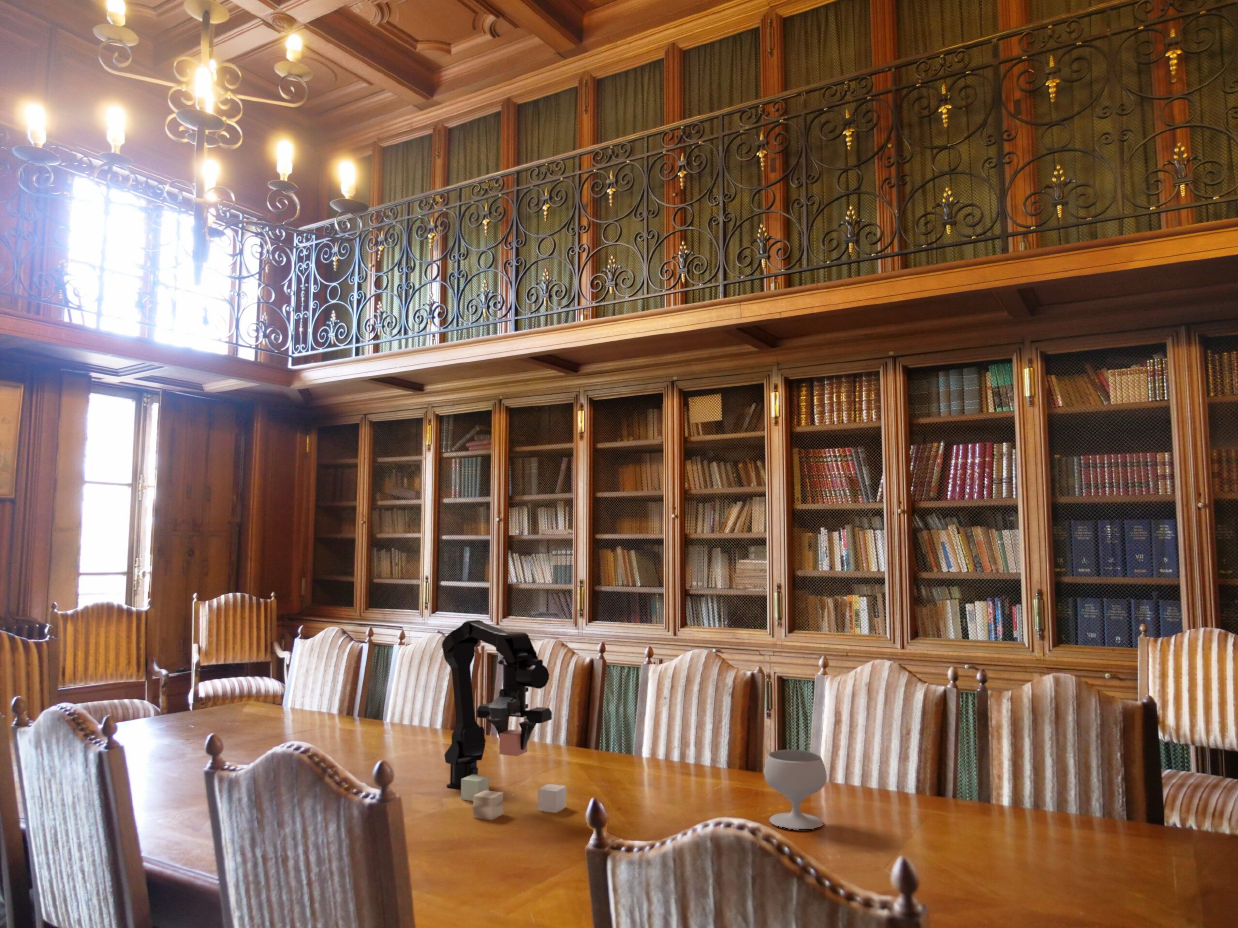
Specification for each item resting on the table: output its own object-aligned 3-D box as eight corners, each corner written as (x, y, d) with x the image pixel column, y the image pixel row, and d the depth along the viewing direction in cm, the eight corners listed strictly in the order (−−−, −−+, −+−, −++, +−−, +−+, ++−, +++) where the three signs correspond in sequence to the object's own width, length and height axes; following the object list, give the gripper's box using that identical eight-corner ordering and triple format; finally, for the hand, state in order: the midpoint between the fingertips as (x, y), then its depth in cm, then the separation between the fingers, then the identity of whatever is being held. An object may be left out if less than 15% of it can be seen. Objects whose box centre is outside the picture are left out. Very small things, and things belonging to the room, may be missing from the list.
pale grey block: (537, 810, 200) (538, 788, 200) (547, 804, 204) (548, 783, 205) (556, 813, 198) (556, 791, 198) (566, 807, 202) (566, 785, 203)
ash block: (473, 817, 194) (473, 795, 195) (484, 811, 199) (485, 789, 200) (491, 820, 192) (491, 797, 193) (502, 814, 197) (503, 792, 197)
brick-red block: (499, 754, 206) (499, 733, 206) (509, 749, 210) (510, 729, 211) (516, 756, 204) (517, 734, 204) (527, 751, 208) (527, 731, 209)
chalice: (830, 817, 195) (828, 750, 196) (824, 836, 182) (823, 764, 183) (770, 811, 199) (769, 746, 201) (760, 829, 186) (759, 759, 188)
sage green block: (460, 799, 209) (461, 778, 209) (472, 794, 213) (472, 774, 214) (477, 801, 207) (478, 781, 207) (488, 796, 211) (489, 776, 212)
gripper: (464, 686, 205) (463, 751, 204) (530, 691, 198) (529, 759, 196) (489, 680, 215) (488, 742, 214) (553, 684, 208) (552, 749, 206)
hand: (513, 748), depth 207 cm, fingers closed on brick-red block, 5 cm apart
